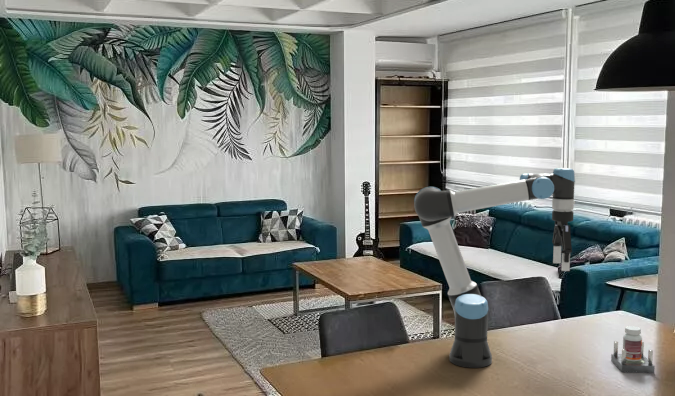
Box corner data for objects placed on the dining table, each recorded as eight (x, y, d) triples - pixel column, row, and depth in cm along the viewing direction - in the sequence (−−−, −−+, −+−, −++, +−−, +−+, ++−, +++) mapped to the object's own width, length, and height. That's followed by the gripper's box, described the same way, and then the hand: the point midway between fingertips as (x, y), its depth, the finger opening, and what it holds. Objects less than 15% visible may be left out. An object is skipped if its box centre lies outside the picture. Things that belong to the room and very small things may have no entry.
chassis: (621, 372, 248) (622, 351, 247) (611, 360, 260) (611, 340, 259) (654, 372, 247) (655, 351, 246) (642, 361, 259) (643, 341, 258)
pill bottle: (644, 361, 251) (646, 330, 249) (628, 362, 250) (629, 330, 248) (635, 355, 257) (636, 325, 255) (619, 356, 256) (620, 325, 254)
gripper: (582, 214, 250) (580, 274, 253) (565, 206, 275) (563, 260, 277) (560, 214, 251) (558, 273, 253) (545, 205, 276) (543, 260, 278)
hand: (561, 266), depth 265 cm, fingers open, 13 cm apart
